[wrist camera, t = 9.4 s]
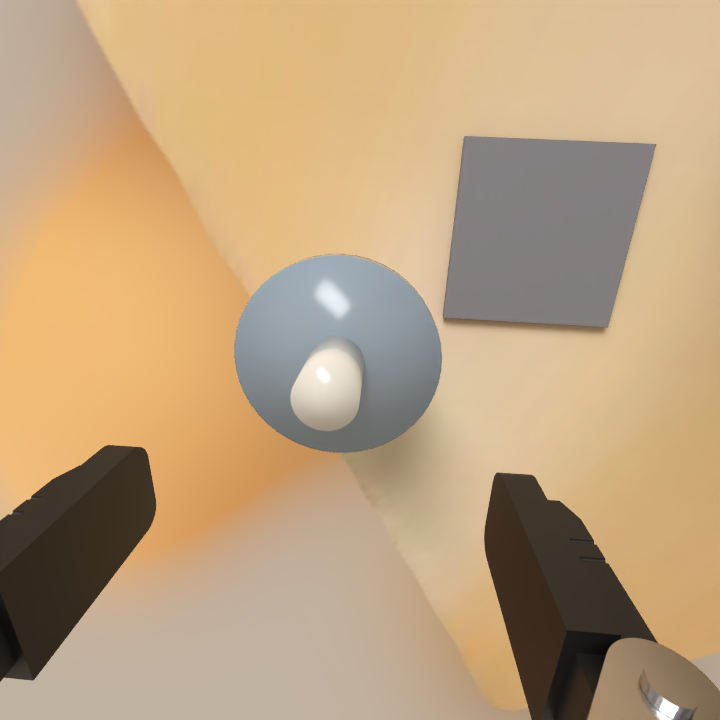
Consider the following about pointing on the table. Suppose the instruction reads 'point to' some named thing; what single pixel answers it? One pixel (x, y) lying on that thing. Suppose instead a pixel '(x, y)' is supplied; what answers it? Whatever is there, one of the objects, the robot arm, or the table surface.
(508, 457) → the table surface
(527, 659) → the robot arm
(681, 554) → the table surface
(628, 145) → the mat
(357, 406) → the lid
